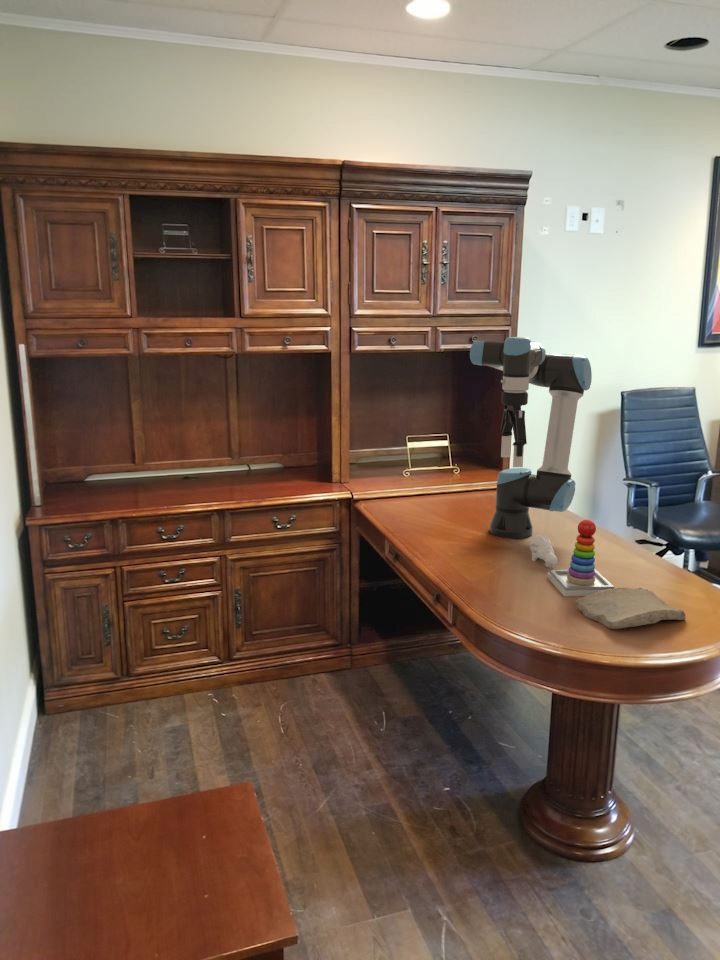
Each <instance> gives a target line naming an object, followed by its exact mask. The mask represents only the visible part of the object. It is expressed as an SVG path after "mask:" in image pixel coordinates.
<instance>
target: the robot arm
mask: <svg viewBox="0 0 720 960" xmlns="http://www.w3.org/2000/svg"><path fill="white" fill-rule="evenodd" d="M469 359H470V361H471V364H473V365H477V366H480V367H481V366H487V367H490V368H494V369H495V370H499V371H502V379H501V380H500V383H501V384H502V388H501V389H502V390H503V391H502V392H501V404H502V405H503V412H502V419H501V421H500V422H501V424H500V427H499V431H500V434H501V448H500V457H501V458H511V447H512V446H513V455H512V458H513V459H512V468H507V469H502V470H501V471H499V472H498V474H497V479H496V480H497V481H496V495H495V512H494V513H493V517H492V519H491V522H490V524H489V532H490V533H491V534H492V535H495V536H497V537H501V538H505V539H506V538H509V539H523V538H529V537H530V536H532V535H533V525H532V520H531V517H530V514H529V513H530V512H529V509H531V508H532V509H536V510H544V511H548V512H549V511H550V512H557V513H559V512H560V513H562V512H565V511H567V509H568V508H569V507H570V506H571V504H572V501H573V498H574V496H575V493H576V492H575V491H576V481H575V480H574V479H573V478H572V473H571V471H570V470H569V462H570V455H571V447H572V443H573V435H574V428H575V422H576V416H577V409H578V401H579V400H580V399H581V398H583V397H584V392H585V391H588V390H590V388H591V385H592V377H593V376H592V374H593V372H592V366H591V362H590V360H589V358H588V357H587V356H585V355H580V354H566V353H565V354H562V353H561V354H559V353H547V352H546V349H545V347H544V346H543V344H541V343H540V342H536V341H532V340H531V338H529V337H526V336H512V337H511V336H509V337H507V338H505V340H504V341H495V340H494V341H492V340H476V341H473V343H472V344H471V346H470V349H469ZM529 384H530V385H533V386H536V387H541V388H549V389H548V393H549V395H550V396H551V403H550V405H551V406H550V413H549V418H548V419H549V420H548V423H547V424H548V425H547V432H546V439H545V445H544V452H543V453H544V454H543V460H542V465H541V466H540V467H539V468H537V470H536V474H533V472H532V469H531V468H527V467H523V465H524V450H525V448H524V447H525V445H527V444H528V442H527V432H526V422H525V421H526V419H525V417H526V412H525V410H524V409H523V410H522V406H526V405H527V404H528V401H529V392H528V390H529V389H530V388H529V387H530V386H529ZM512 431H513V432H512ZM512 436H513V439H514V442H513V443H512ZM511 444H512V445H511Z"/></svg>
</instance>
